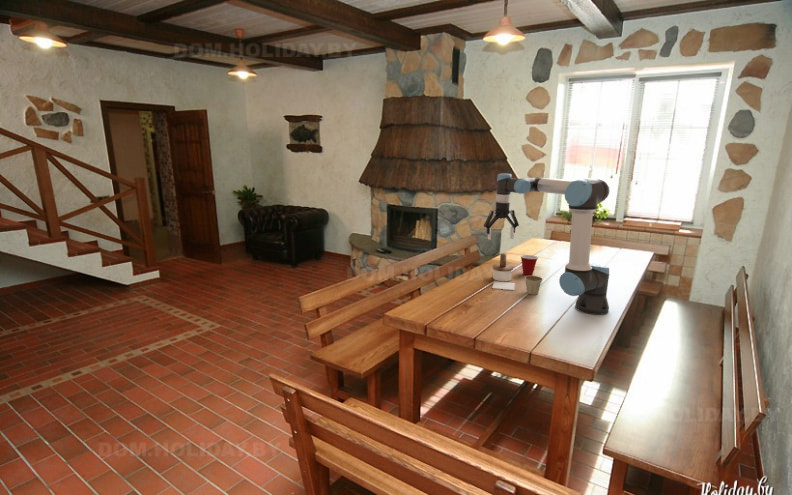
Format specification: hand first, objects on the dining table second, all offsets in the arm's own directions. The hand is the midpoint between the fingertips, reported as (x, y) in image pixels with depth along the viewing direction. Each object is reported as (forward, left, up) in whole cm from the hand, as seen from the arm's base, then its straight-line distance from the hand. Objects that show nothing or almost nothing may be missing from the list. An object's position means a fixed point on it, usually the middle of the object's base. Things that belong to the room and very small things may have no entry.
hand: (500, 239), depth 236 cm
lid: (-2, -13, -21) cm, 25 cm away
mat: (-4, +1, -28) cm, 28 cm away
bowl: (-2, -13, -28) cm, 31 cm away
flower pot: (-19, +8, -28) cm, 35 cm away
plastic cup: (-17, -27, -28) cm, 42 cm away
